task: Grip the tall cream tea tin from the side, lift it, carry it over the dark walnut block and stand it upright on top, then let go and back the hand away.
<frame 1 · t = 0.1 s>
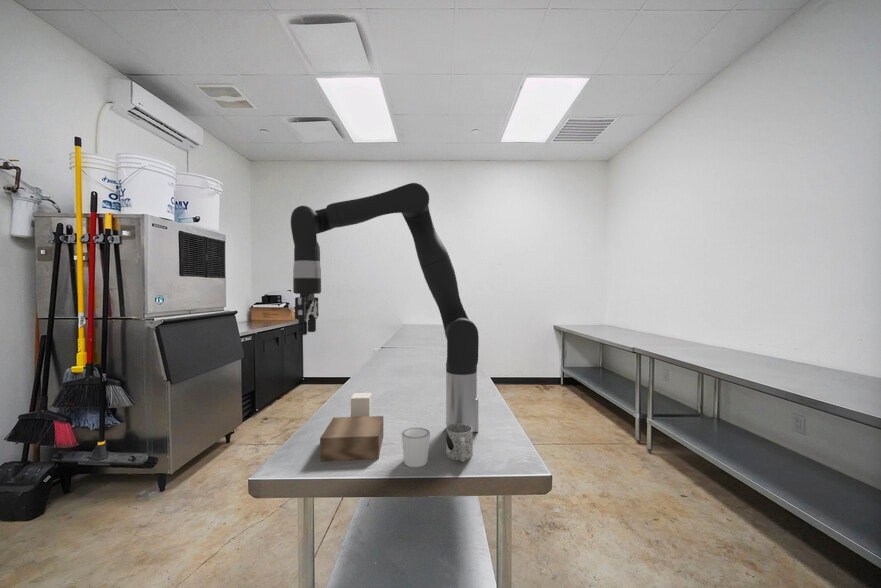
hand: (307, 333, 99), 29 cm above the table, tool pointing down, fingers open, 8 cm apart
walnut block: (354, 448, 91), on the table
mug: (460, 458, 85), on the table
shot glass: (415, 462, 83), on the table
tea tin: (361, 428, 104), on the table
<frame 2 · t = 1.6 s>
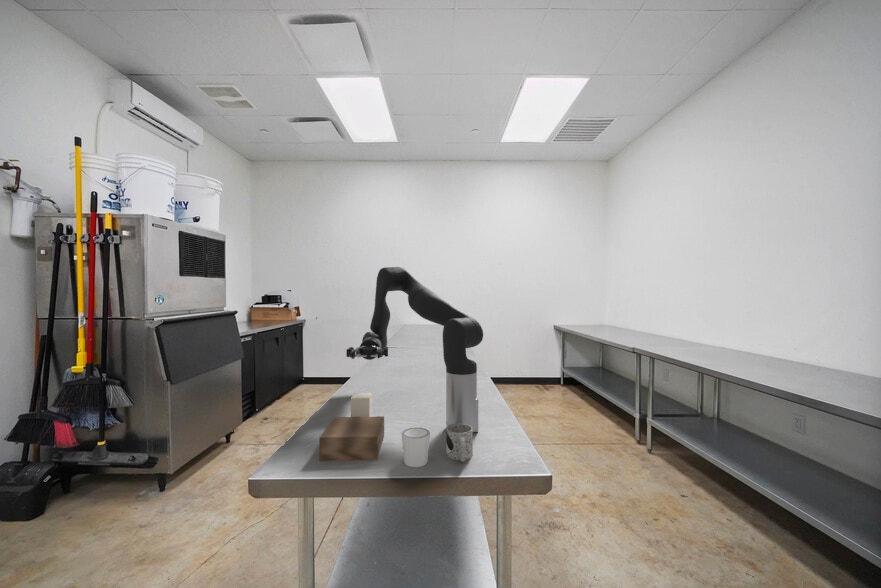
hand: (365, 355, 114), 20 cm above the table, tool horizontal, fingers open, 8 cm apart
nothing on the table moved.
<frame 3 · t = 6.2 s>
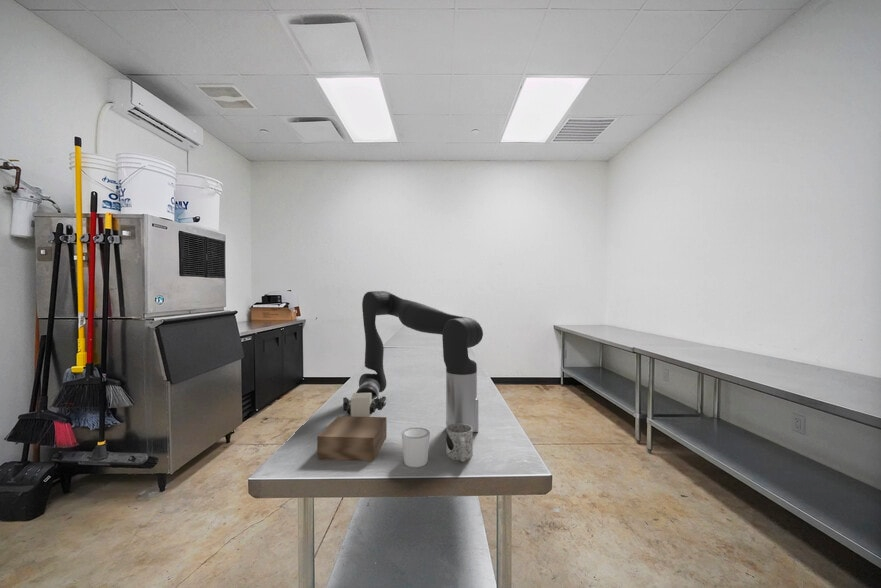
hand: (360, 411, 101), 6 cm above the table, tool horizontal, fingers closed on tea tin, 5 cm apart
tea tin: (361, 428, 104), on the table, touching gripper
when the fingers open (13 cm above the table, at t = 10.5 s): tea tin drops 1 cm, resting on walnut block.
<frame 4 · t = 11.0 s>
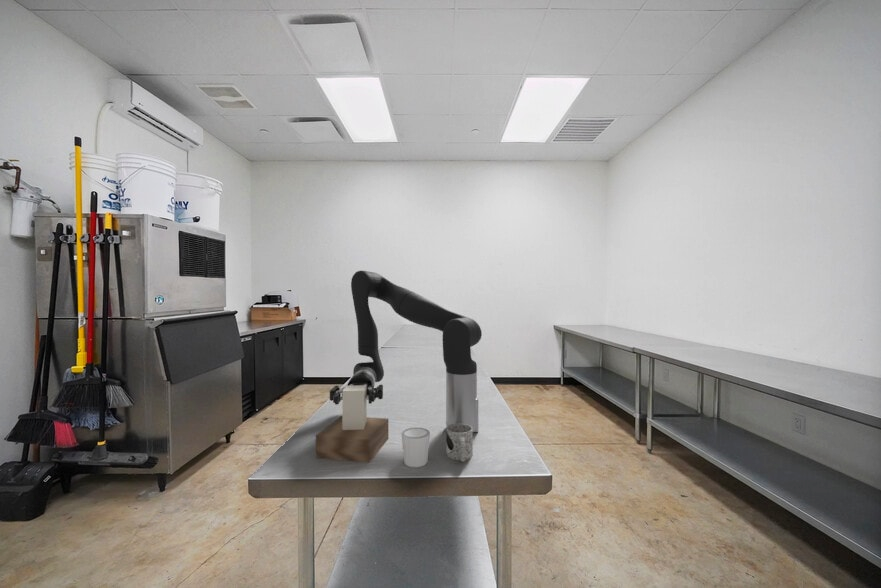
hand: (353, 400, 89), 13 cm above the table, tool horizontal, fingers open, 8 cm apart
walnut block: (354, 449, 91), on the table, touching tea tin
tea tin: (354, 425, 91), point 6 cm above the table, touching walnut block
everything else where it was.
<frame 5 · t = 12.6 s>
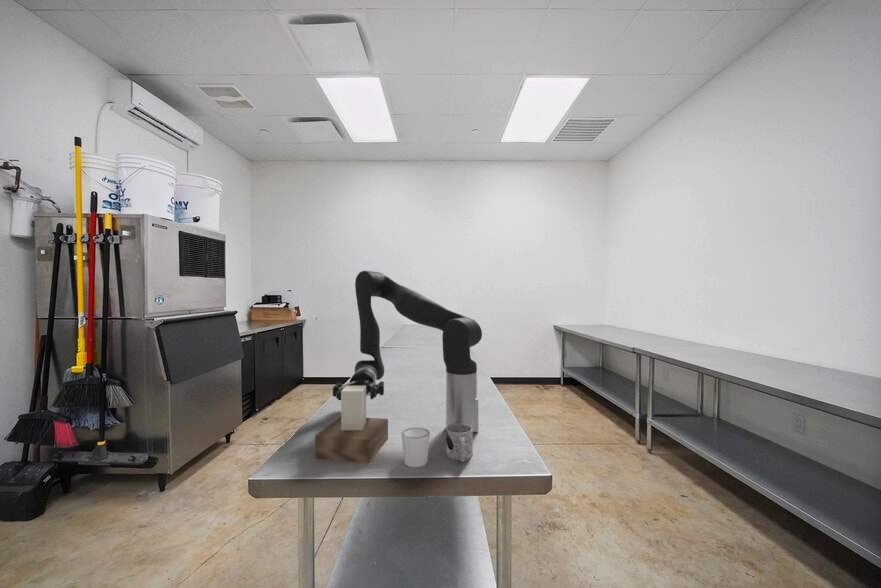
hand: (355, 396, 93), 13 cm above the table, tool horizontal, fingers open, 8 cm apart
walnut block: (354, 449, 90), on the table
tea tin: (354, 426, 91), point 6 cm above the table
everything else where it was.
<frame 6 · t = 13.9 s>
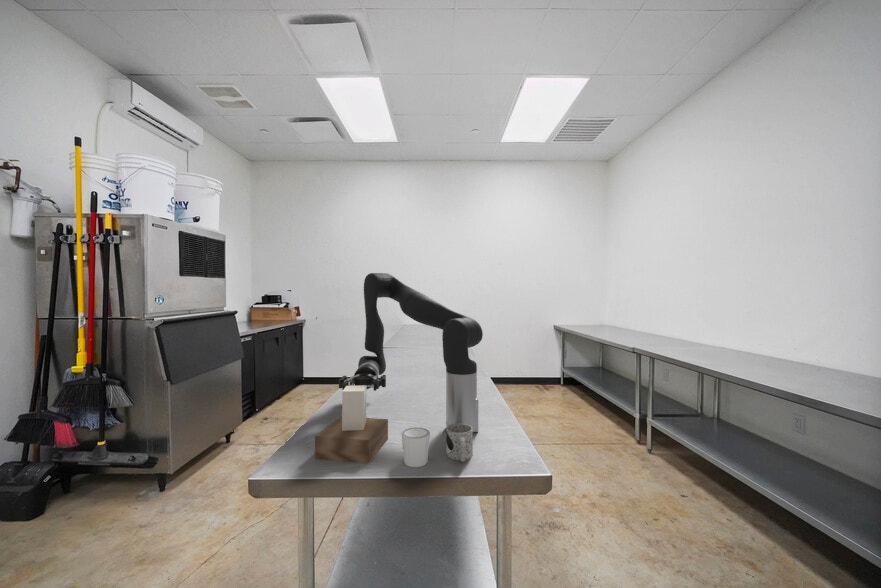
hand: (360, 387, 101), 13 cm above the table, tool horizontal, fingers open, 8 cm apart
nothing on the table moved.
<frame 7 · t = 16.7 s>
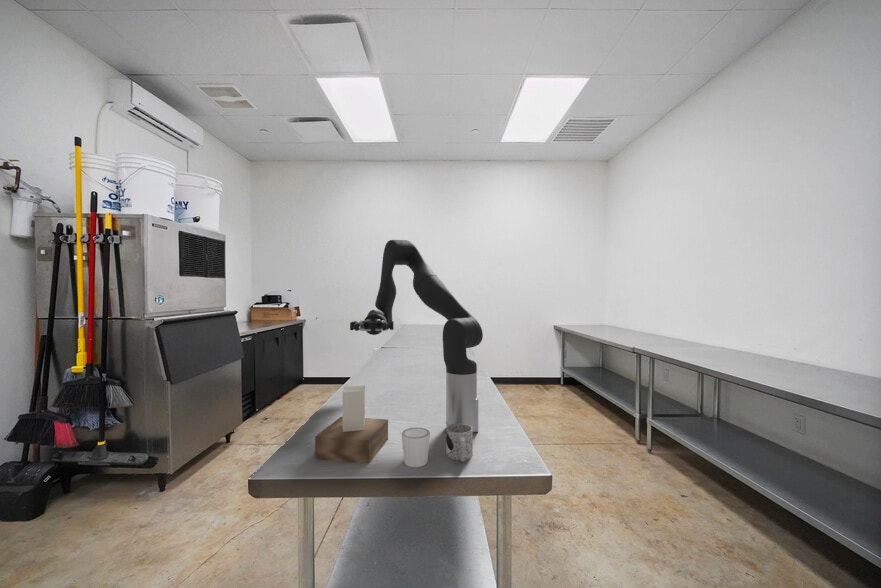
hand: (370, 327, 109), 30 cm above the table, tool horizontal, fingers open, 8 cm apart
nothing on the table moved.
at the end: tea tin inside the target area on the walnut block (0.1 cm from its centre), point 6.0 cm above the walnut block's base; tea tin tilted 0°; the gripper is holding nothing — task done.
